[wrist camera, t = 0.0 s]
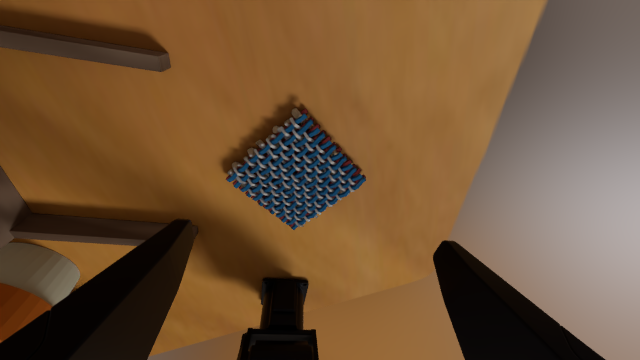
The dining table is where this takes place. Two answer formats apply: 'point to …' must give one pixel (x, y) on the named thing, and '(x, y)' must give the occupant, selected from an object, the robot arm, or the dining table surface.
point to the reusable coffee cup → (31, 284)
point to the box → (19, 222)
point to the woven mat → (296, 172)
